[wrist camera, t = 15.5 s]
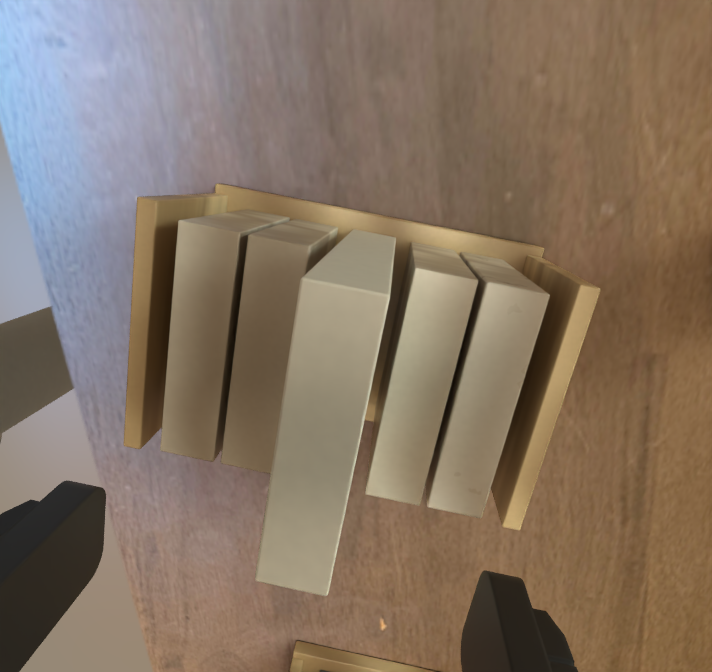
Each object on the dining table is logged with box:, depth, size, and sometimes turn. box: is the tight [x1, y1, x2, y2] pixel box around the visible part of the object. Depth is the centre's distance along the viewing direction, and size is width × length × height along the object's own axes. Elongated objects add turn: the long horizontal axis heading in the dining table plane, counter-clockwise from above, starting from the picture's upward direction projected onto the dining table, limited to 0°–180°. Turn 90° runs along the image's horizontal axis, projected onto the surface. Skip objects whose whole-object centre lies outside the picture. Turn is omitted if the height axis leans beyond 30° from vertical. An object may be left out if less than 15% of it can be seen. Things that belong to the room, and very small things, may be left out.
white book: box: [255, 229, 396, 596], centre depth 22 cm, size 2×10×15 cm, turn 169°
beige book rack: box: [124, 184, 601, 530], centre depth 25 cm, size 18×12×10 cm, turn 79°
